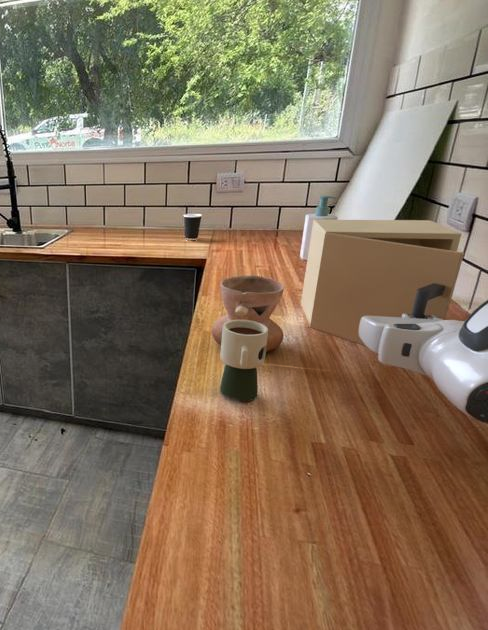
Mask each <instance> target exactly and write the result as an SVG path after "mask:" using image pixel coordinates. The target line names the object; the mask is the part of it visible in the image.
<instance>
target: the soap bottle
mask: <svg viewBox="0 0 488 630" xmlns="http://www.w3.org/2000/svg"><path fill="white" fill-rule="evenodd" d="M317 198H318V199H320V200H319V205H316V209H315V213H307V214H306V215H305V219H304V225H303V231H302V239H301V245H300V252H299V257H300V258H301V260H302V261H306V262H307V259H308V253H309V246H310V240H311V233H312V226H313V220H339V219H338V216H337V215H335V214H333V213H329V211H330V206H328V202H329V199H333V200H337V197H335V196H332V195H319V196H318V197H317Z"/></svg>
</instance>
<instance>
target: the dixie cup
mask: <svg viewBox="0 0 488 630" xmlns="http://www.w3.org/2000/svg"><path fill="white" fill-rule="evenodd" d="M202 217H203V214H201V213H185V214H183V222H184V223H183V224H184V238H185V239H186V238H187V239H197V240H198V238H199V233H200V228H201V221H202Z"/></svg>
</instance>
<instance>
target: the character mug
mask: <svg viewBox="0 0 488 630" xmlns="http://www.w3.org/2000/svg"><path fill="white" fill-rule="evenodd" d="M267 337H268V328H267V327H266V326H265V325H263V324H261V323H258V322H254V321H249V320H232V321H228V322H226V323H224V325H223V330H222V341H221V345H220V353H219V354H220V355H219V356H220V357H219V358H220V360H221V362H222V363H223V364H225V365H224V369H223V373H222V376H221V381H220V386H219V392H220V393H221V394H222V395H223V396H225V397H228V398H230V399H234V400H237V401H245V402H250V401H254V400H255V399H256V398H257V397H258V389H259V388H258V387H259V386H258V369H257V368H259V367H262V366H263V365H264V363H265V360H266V354H267V352H266V345H267Z"/></svg>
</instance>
